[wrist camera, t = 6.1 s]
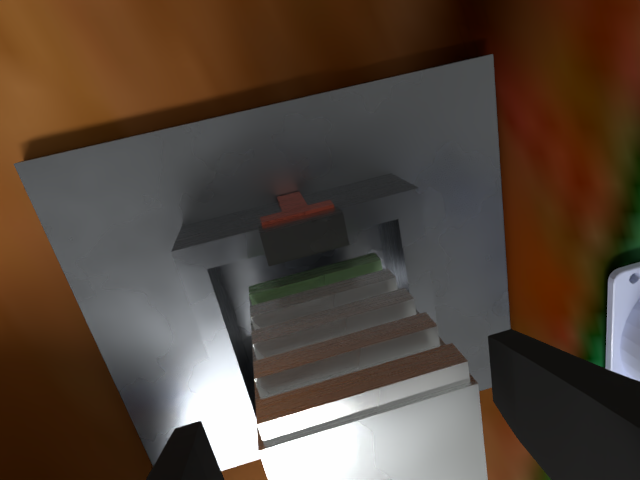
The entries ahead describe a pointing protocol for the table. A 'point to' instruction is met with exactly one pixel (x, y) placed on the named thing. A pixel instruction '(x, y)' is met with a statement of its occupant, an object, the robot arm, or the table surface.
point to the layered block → (359, 381)
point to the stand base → (276, 233)
